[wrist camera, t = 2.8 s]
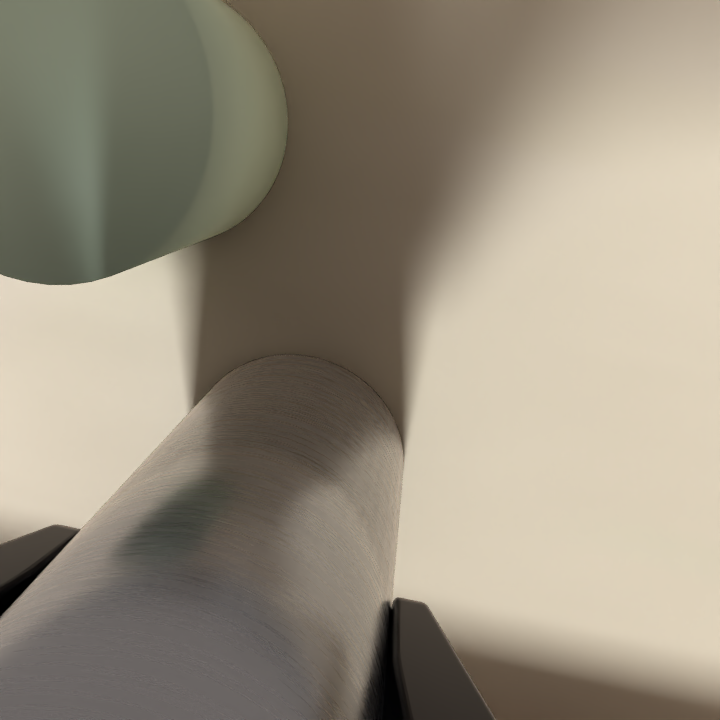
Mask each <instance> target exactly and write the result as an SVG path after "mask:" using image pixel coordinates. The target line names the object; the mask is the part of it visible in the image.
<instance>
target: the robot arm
mask: <svg viewBox="0 0 720 720" xmlns="http://www.w3.org/2000/svg"><path fill="white" fill-rule="evenodd" d="M80 530H81V529H77V528H72V527H67V526H63V525H52V526H49V527H46V528H44V529H41V530H38V531H35V532H33V533H30V534H27V535H25V536H22V537H19V538H17V539H14V540H11V541H9V542H6V543H3V544H0V616H1V615H2V614H3V613H4V612H5V611H6V610H7V609H8V608H9V607H10V606H11V605H12V604H13V602H14V601H15V600H16V599H17V598H18V597H19V596H20V595H21V594H22V593H23V592H24V591H25V589H26V588H27V587H28V586H29V585H30V584H31V583H32V582H33V581H34V580H35V579H36V578H37V577H38V575H39V574H40V573H41V572H42V571H43V570H44V569H45V568H46V567H47V566H48V565H49V564H50V562H51V561H52V560H53V559H54V558H55V557H56V556H57V555H58V554H59V553H60V552H61V551H62V550H63V548H64V547H65V546H66V545H67V544H68V543H69V542H70V541H71V540H72V539H73V538H74V537H75V535H76V534H77V533H78V532H79V531H80ZM382 720H496V719H495V717H494V715H493V714H492V712H491V710H490V709H489V707H488V705H487V704H486V702H485V700H484V699H483V697H482V696H481V694H480V692H479V691H478V689H477V687H476V686H475V684H474V682H473V681H472V679H471V677H470V676H469V674H468V672H467V671H466V669H465V667H464V666H463V664H462V662H461V661H460V659H459V657H458V656H457V654H456V652H455V651H454V649H453V647H452V646H451V644H450V642H449V641H448V639H447V637H446V636H445V634H444V632H443V631H442V629H441V627H440V626H439V624H438V622H437V621H436V619H435V617H434V616H433V614H432V612H431V611H430V609H429V607H428V606H427V605H426V604H425V603H423V602H418V601H414V600H409V599H404V598H396V599H395V600H394V601H393V604H392V607H391V617H390V629H389V640H388V652H387V664H386V676H385V689H384V703H383V715H382Z"/></svg>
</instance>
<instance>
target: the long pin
mask: <svg viewBox="0 0 720 720" xmlns="http://www.w3.org/2000/svg"><path fill="white" fill-rule="evenodd" d="M402 478H403V448H402V441H401V437H400V434H399V431H398V427H397V425H396V423H395V421H394V418H393V416H392V414H391V413H390V411H389V409H388V408H387V406H386V405H385V403H384V402H383V401H382V399H381V398H380V397H379V396H378V394H377V393H376V392H375V391H374V390H373V389H372V388H371V387H370V386H369V385H368V384H367V383H366V382H364V381H363V380H362V379H360V378H359V377H357V376H356V375H355V374H353V373H352V372H350V371H348V370H346V369H344V368H343V367H341V366H339V365H336V364H334V363H331V362H329V361H326V360H323V359H319V358H315V357H310V356H303V355H275V356H268V357H264V358H260V359H256V360H253V361H251V362H248V363H246V364H243V365H241V366H240V367H238V368H236V369H234V370H233V371H231V372H229V373H228V374H227V375H226V376H224V377H223V378H222V379H220V380H219V381H218V382H217V383H216V384H215V386H214V387H213V388H212V389H211V390H210V391H209V392H208V393H207V394H206V395H205V396H204V397H203V398H202V399H201V401H200V402H199V403H198V404H197V405H196V406H195V407H194V408H193V409H192V410H191V411H190V412H189V413H188V415H187V416H186V417H185V418H184V419H183V420H182V421H181V422H180V423H179V424H178V425H177V426H176V428H175V429H174V430H173V431H172V432H171V433H170V434H169V435H168V436H167V437H166V438H165V439H164V440H163V442H162V443H161V444H160V445H159V446H158V447H157V448H156V449H155V450H154V451H153V452H152V453H151V454H150V456H149V457H148V458H147V459H146V460H145V461H144V462H143V463H142V464H141V465H140V466H139V467H138V469H137V470H136V471H135V472H134V473H133V474H132V475H131V476H130V477H129V478H128V479H127V480H126V481H125V483H124V484H123V485H122V486H121V487H120V488H119V489H118V490H117V491H116V492H115V493H114V494H113V496H112V497H111V498H110V499H109V500H108V501H107V502H106V503H105V504H104V505H103V506H102V507H101V508H100V510H99V511H98V512H97V513H96V514H95V515H94V516H93V517H92V518H91V519H90V520H89V521H88V523H87V524H86V525H85V526H84V527H83V528H82V529H81V530H80V531H79V532H78V533H77V534H76V535H75V537H74V538H73V539H72V540H71V541H70V542H69V543H68V544H67V545H66V546H65V547H64V548H63V550H62V551H61V552H60V553H59V554H58V555H57V556H56V557H55V558H54V559H53V560H52V561H51V562H50V564H49V565H48V566H47V567H46V568H45V569H44V570H43V571H42V572H41V573H40V574H39V575H38V577H37V578H36V579H35V580H34V581H33V582H32V583H31V584H30V585H29V586H28V587H27V588H26V589H25V591H24V592H23V593H22V594H21V595H20V596H19V597H18V598H17V599H16V600H15V601H14V602H13V604H12V605H11V606H10V607H9V608H8V609H7V610H6V611H5V612H4V613H3V614H2V615H1V616H0V720H382V715H383V703H384V689H385V676H386V664H387V652H388V640H389V629H390V617H391V607H392V597H393V585H394V573H395V561H396V549H397V537H398V526H399V514H400V502H401V490H402Z"/></svg>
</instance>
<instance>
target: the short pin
mask: <svg viewBox="0 0 720 720" xmlns="http://www.w3.org/2000/svg"><path fill="white" fill-rule="evenodd" d="M287 132H288V113H287V103H286V97H285V91H284V88H283V84H282V81H281V77H280V74H279V71H278V69H277V67H276V64H275V62H274V60H273V58H272V56H271V54H270V52H269V51H268V49H267V47H266V45H265V44H264V42H263V41H262V39H261V38H260V37H259V35H258V34H257V33H256V31H255V30H254V29H253V27H252V26H251V25H250V24H249V23H248V22H247V21H246V20H245V19H244V18H243V17H242V16H241V15H240V14H239V13H237V12H236V11H235V10H233V9H232V8H231V7H230V6H228V5H227V4H226V3H224V2H223V1H222V0H0V274H2V275H4V276H7V277H11V278H15V279H18V280H22V281H26V282H32V283H39V284H47V285H72V284H79V283H86V282H92V281H96V280H99V279H103V278H106V277H109V276H112V275H115V274H118V273H120V272H123V271H125V270H128V269H131V268H133V267H136V266H138V265H141V264H144V263H146V262H149V261H151V260H154V259H157V258H159V257H162V256H164V255H167V254H169V253H172V252H175V251H177V250H180V249H182V248H185V247H188V246H190V245H193V244H195V243H198V242H201V241H203V240H206V239H208V238H211V237H213V236H216V235H218V234H220V233H223V232H225V231H227V230H229V229H231V228H232V227H234V226H235V225H237V224H238V223H240V222H241V221H243V220H244V219H245V218H246V217H247V216H248V215H250V214H251V213H252V212H253V211H254V210H255V209H256V207H257V206H258V205H259V204H260V203H261V202H262V201H263V199H264V198H265V196H266V195H267V193H268V192H269V190H270V189H271V187H272V185H273V183H274V181H275V179H276V177H277V175H278V173H279V170H280V167H281V164H282V161H283V158H284V153H285V148H286V143H287Z"/></svg>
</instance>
